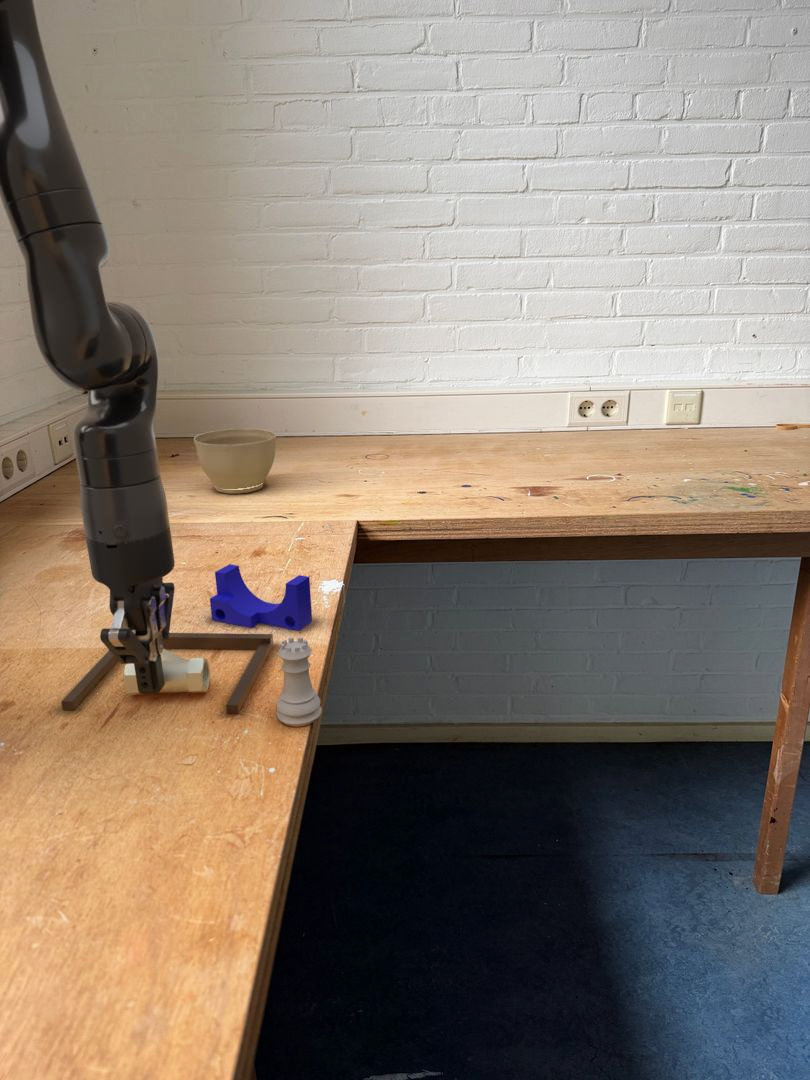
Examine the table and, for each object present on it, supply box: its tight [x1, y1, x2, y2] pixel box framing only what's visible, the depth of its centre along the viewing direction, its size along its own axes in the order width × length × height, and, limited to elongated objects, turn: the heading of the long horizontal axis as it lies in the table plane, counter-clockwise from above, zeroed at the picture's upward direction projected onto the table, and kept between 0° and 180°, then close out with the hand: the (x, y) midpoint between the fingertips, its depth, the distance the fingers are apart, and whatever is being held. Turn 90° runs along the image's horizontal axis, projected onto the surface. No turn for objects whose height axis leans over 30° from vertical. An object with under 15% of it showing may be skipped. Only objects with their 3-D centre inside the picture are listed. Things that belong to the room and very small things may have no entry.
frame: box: [60, 632, 274, 714], centre depth 87 cm, size 18×15×2 cm
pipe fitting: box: [123, 648, 211, 696], centre depth 85 cm, size 8×4×7 cm
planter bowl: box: [193, 428, 277, 495], centre depth 161 cm, size 16×16×11 cm
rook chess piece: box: [275, 636, 323, 727], centre depth 77 cm, size 4×4×8 cm
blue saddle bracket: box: [209, 563, 313, 632], centre depth 99 cm, size 12×4×6 cm, turn 65°
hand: (151, 690), depth 80 cm, fingers closed
